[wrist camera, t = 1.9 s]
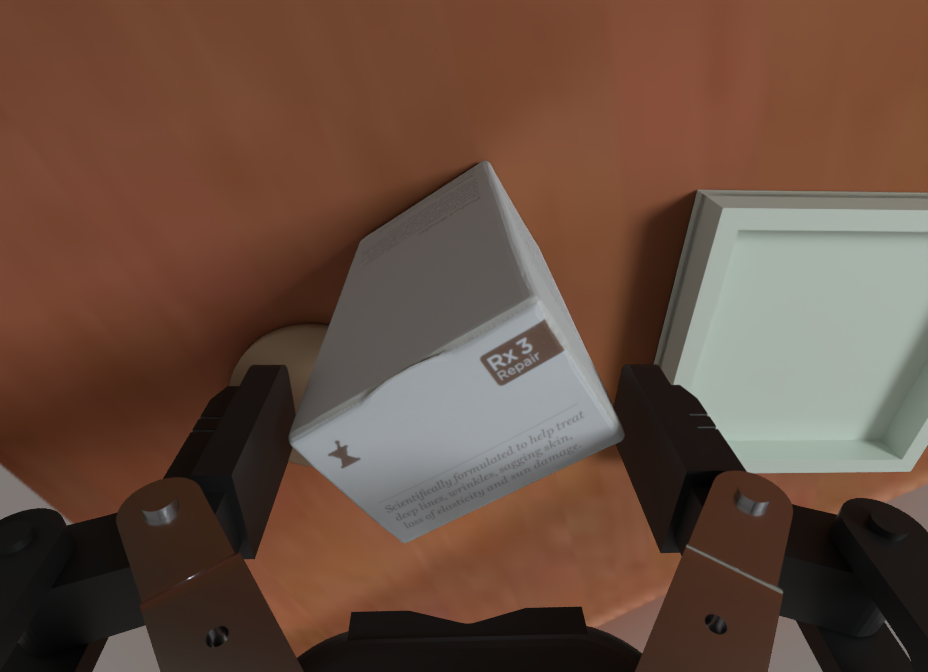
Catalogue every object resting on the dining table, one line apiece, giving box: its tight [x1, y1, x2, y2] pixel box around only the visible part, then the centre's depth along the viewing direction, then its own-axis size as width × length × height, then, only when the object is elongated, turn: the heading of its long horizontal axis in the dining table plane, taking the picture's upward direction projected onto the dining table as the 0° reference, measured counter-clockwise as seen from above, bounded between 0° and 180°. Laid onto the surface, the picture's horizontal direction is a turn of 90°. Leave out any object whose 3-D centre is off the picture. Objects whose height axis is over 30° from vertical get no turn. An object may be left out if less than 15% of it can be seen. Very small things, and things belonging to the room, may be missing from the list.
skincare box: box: [288, 161, 625, 543], centre depth 16 cm, size 6×4×12 cm
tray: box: [654, 190, 928, 473], centre depth 23 cm, size 13×13×2 cm
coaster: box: [229, 324, 329, 467], centre depth 25 cm, size 8×8×1 cm
